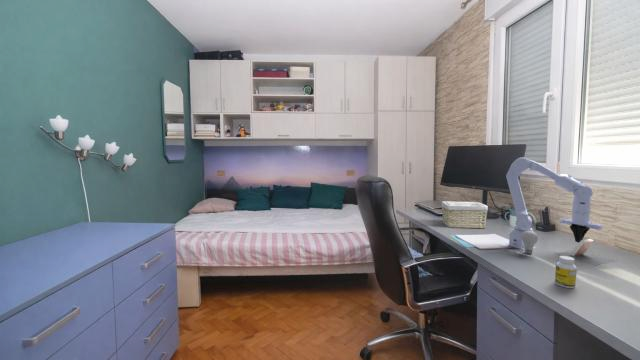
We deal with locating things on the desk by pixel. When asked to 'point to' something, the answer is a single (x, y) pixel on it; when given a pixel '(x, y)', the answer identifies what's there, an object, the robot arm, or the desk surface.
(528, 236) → the lightbulb
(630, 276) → the desk surface
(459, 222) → the storage basket
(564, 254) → the mat
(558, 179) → the robot arm
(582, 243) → the tile
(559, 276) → the supplement bottle
